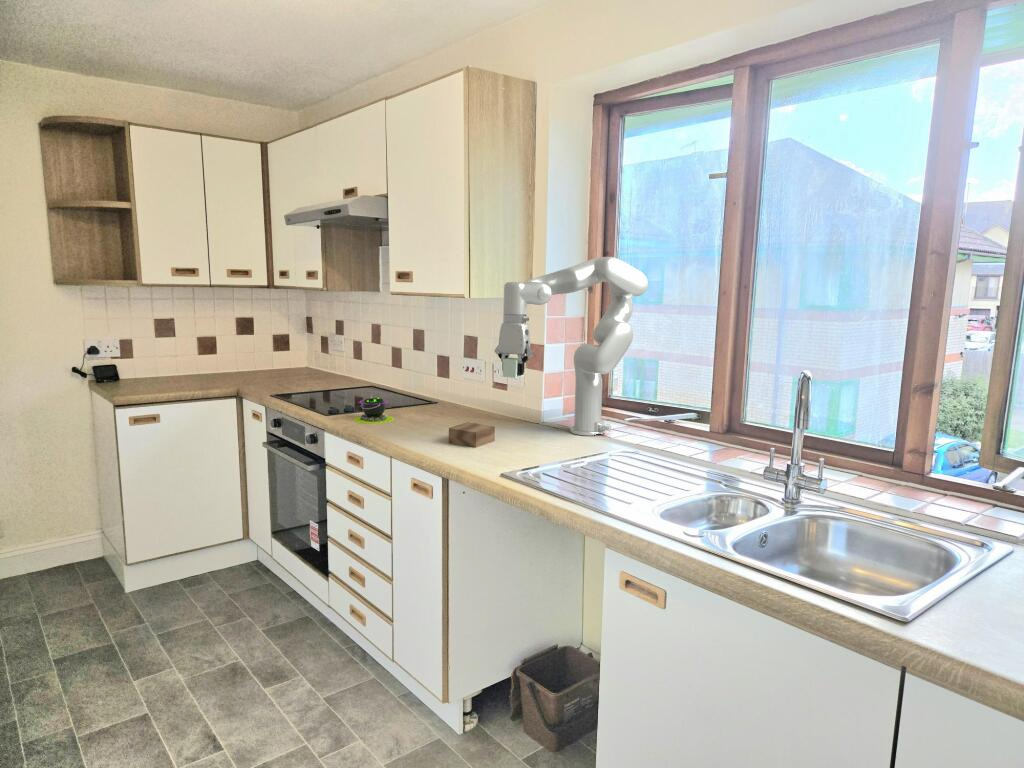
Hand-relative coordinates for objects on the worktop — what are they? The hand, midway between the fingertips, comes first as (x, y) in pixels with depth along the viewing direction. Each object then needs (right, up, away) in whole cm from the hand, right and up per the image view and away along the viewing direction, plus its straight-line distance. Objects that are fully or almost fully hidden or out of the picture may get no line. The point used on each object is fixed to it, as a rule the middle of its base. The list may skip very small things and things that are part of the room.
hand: (513, 373), depth 223 cm
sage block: (0, -1, 0) cm, 1 cm away
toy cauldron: (-53, -17, +33) cm, 65 cm away
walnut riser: (-14, -23, +1) cm, 27 cm away
